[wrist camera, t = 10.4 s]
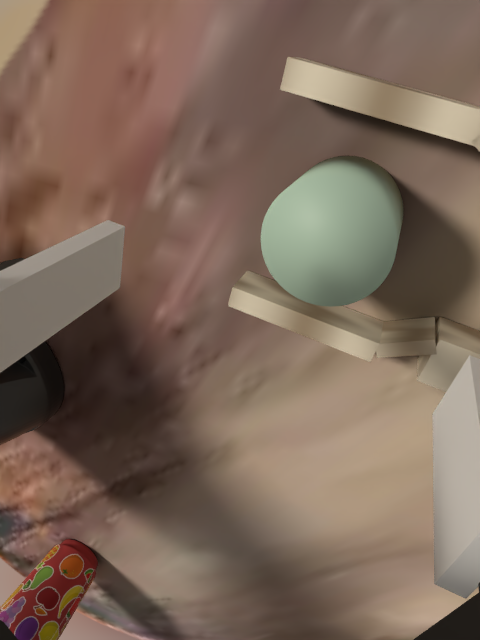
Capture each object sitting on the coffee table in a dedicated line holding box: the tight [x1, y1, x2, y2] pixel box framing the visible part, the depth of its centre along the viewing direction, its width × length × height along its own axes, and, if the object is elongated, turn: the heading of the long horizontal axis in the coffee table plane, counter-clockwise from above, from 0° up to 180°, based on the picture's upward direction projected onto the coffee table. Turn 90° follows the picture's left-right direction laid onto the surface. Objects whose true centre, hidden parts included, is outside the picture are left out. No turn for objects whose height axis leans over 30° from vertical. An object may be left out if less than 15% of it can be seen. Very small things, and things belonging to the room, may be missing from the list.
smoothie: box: [0, 539, 98, 640], centre depth 53 cm, size 8×8×20 cm
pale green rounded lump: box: [261, 156, 404, 307], centre depth 26 cm, size 7×7×6 cm
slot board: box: [228, 57, 480, 392], centre depth 25 cm, size 23×15×4 cm, turn 76°
